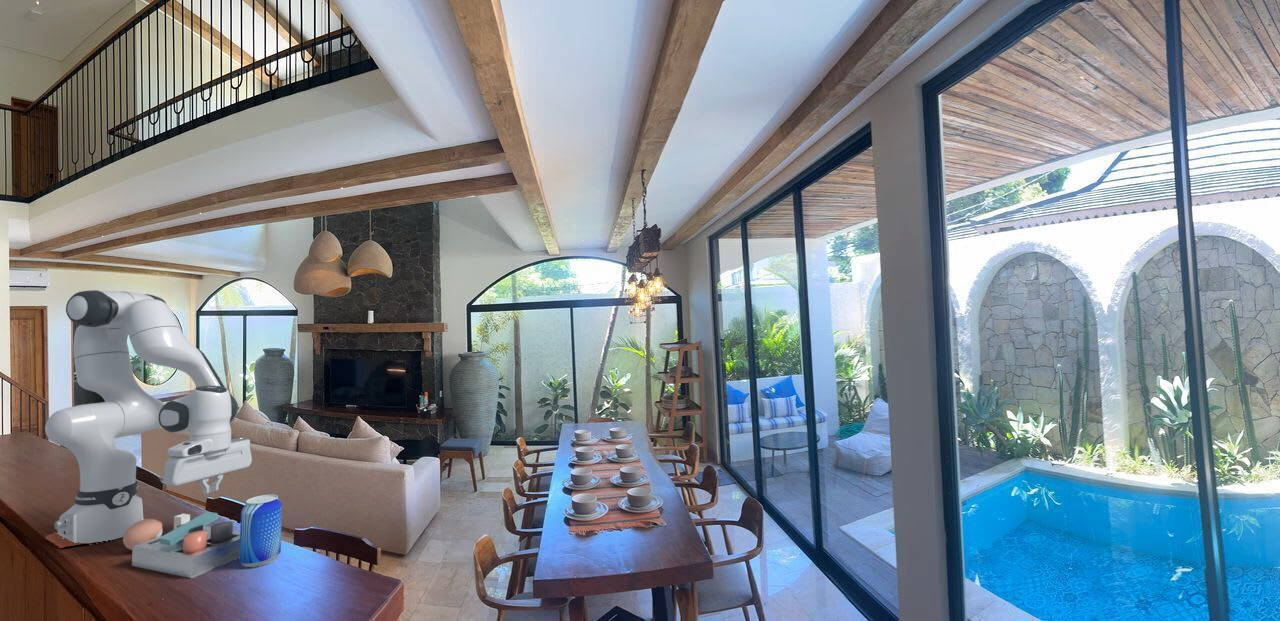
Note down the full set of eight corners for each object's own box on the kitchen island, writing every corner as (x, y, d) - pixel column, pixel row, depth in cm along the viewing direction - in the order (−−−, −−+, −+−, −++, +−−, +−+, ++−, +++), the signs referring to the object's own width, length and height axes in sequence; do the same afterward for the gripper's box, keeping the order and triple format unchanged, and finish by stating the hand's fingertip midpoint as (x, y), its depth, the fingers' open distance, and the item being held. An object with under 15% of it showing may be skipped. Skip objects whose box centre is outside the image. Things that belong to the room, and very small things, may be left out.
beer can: (257, 570, 119) (259, 505, 120) (230, 567, 121) (232, 503, 122) (288, 555, 128) (290, 494, 128) (262, 552, 129) (264, 492, 130)
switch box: (131, 565, 122) (133, 532, 122) (196, 542, 135) (197, 512, 136) (191, 578, 116) (192, 543, 116) (252, 552, 129) (253, 520, 130)
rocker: (160, 543, 122) (158, 538, 122) (208, 516, 132) (206, 511, 132) (171, 545, 121) (169, 540, 121) (218, 518, 131) (217, 513, 131)
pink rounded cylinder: (178, 561, 119) (178, 536, 119) (198, 553, 123) (199, 529, 124) (190, 563, 118) (191, 538, 118) (210, 555, 122) (211, 531, 122)
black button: (205, 550, 125) (206, 527, 125) (224, 543, 129) (225, 520, 129) (217, 552, 124) (218, 529, 124) (236, 545, 128) (237, 522, 128)
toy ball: (171, 544, 134) (172, 515, 135) (137, 557, 127) (139, 526, 127) (148, 542, 136) (149, 513, 136) (114, 554, 128) (115, 524, 128)
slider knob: (173, 532, 130) (174, 516, 130) (182, 529, 131) (183, 513, 132) (180, 534, 129) (181, 517, 129) (189, 531, 131) (190, 514, 131)
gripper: (242, 434, 148) (241, 480, 147) (159, 451, 128) (158, 503, 128) (257, 435, 146) (256, 481, 145) (176, 452, 126) (175, 505, 126)
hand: (210, 492), depth 136 cm, fingers closed
